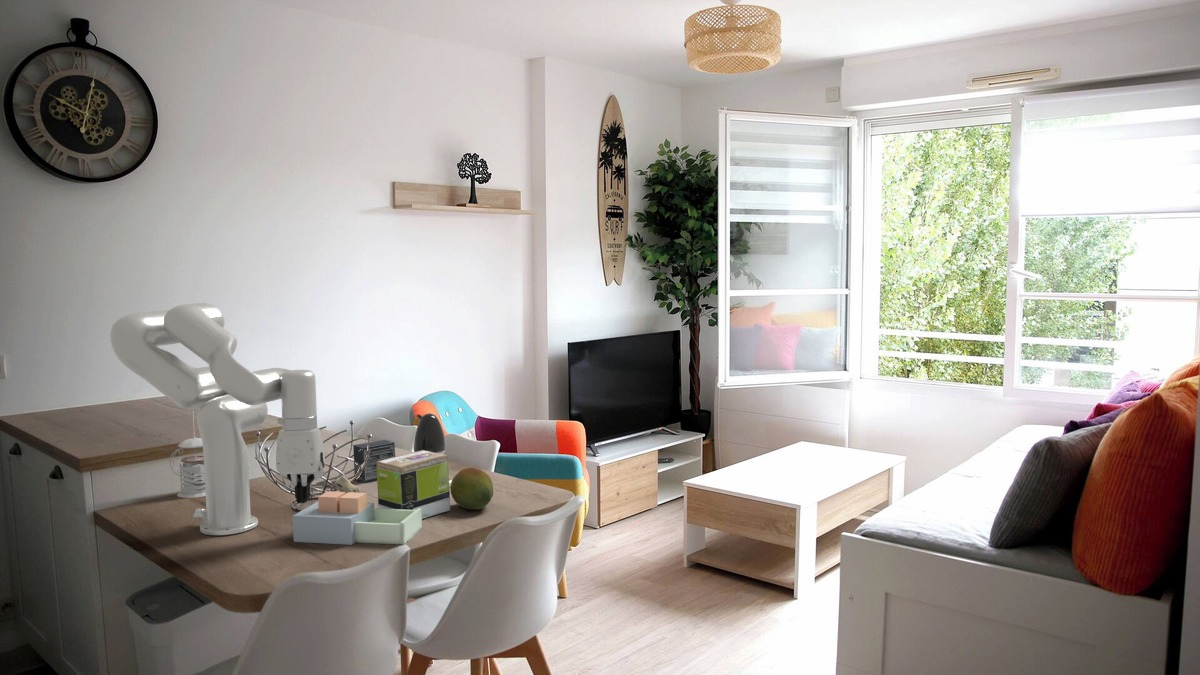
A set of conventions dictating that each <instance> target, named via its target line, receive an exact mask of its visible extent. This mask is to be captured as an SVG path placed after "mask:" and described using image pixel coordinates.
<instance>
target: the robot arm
mask: <svg viewBox="0 0 1200 675" xmlns="http://www.w3.org/2000/svg"><path fill="white" fill-rule="evenodd" d="M224 327H225V317H224V315H223V313H222V312H221V310H220V309H219V308H218V307H217V306H215V305H213V304H211V303H205V302H203V303H201V302H200V303H187V304H186V303H185V304H179V305H176V306H174V307H172V308H170V309H169V310H168V309H167V310H157V311H144V312H143V311H140V312H134V313H129V314H126V315H124V316H121V317H119V318H118V319H117V320H116V321H114V323H113V324H112V327H111V329H110V343H111V347H112V349H113V352H114V354H115V356H116V357H117V359H118V360H119V361H120V363H122V364H123V365H124V367H126V368H127V369H129V370H130V371H131V372H133V373H134V374H136V375H137V376H139V377H140V378H142V379H143V380H145V381H146V382H148V384H150V385H151V386H153V387H154V388H155V389H156V390H157V391H159V392H160V393H161V394H163V395H164V396H165V397H166V398H168V399H169V400H171V401H172V402H173V403H174V404H175V405H177V406H178V407H180V408H182V409H184V410H197V409H199V410H198V413H197V417H196V418H197V419H196V420H197V427H198V431H199V435H200V438H201V439H202V445H203V447H202V450H203V454H202V455H204V465H203V466H204V469H205V479H204V480H205V490H206V496H205V505H206V508H198V507H197V508H196V509H195V510H194V513H193V515H192V518H193V519H195V520H202V523H201V524H200V525H199V531H200V533H201V534H204V535H207V536H229V535H230V536H231V535H236V534H239V533H243V532H248V531H250V530H252V529H254V528H256V527H257V526H258V524H259V520H258V519H259V518H257V517H256V516H254V515H252V514H251V497H250V496H251V494H250V472H249V470H250V467H249V453H248V447H247V444H246V442H245V440H244V438H243V435H242V433H243V432H247V431H249V430H252V429H255V428H257V427H259V426H260V425H262V424H263V423H264V422H265V421H266V419H267V417H268V413H269V412H268V404H267V403H269V402H273V401H278V400H281V401H280V402H281V418H277V424H279V425H281V428H282V429H279V431H278V436H277V442H276V452H275V453H276V454H275V455H276V456H275V466H276V471H277V472H278V475H279V476H280V477H283V478H287V479H288V480H289V481H290V482H291V485H292V486H293V487H294V497H295V502H296V504H304V503H307V502H308V501H310V498H311V484H312V483H313V482H314V480H315V479H320V478H322V477H325V474H326V473H325V465H326V459H325V458H326V455H325V446H324V440H323V437H322V432H321V430H320V427H318V418H317V417H318V414H317V409H318V408H317V389H316V388H317V385H316V383H317V382H316V374H315V373H314V372H313V371H312V370H309V369H287V368H282V367H271V368H266V369H260V370H256V371H254V370H253V371H251V370H250V369H248V368H246V366H244V365H243V364H241V363H240V362H239V361H238V360H236V359H235V357H234V356H233V355H234V353H235V351H236V349H237V345H238V340H237V338H236V336H235V335H233V334H232V333H230V332H229V331H228V330H227V329H225V328H224ZM174 344H181V345H182V346H184V347H185V348H187V350H189V351H191V352H192V353H193V354H195V355H196V356H197V357H198V358H200V359H201V360H203V362H205V363H206V364H207V365H208V366H202V367H193V366H191V365H189V364H188V363H186V362H185V361H183V360H182V359H180V358H179V357H178V356H177V355H175V354H174V353H172V352H169V351H168V350H165V349H163V348H160V346H168V345H174Z"/></svg>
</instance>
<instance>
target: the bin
mask: <svg viewBox="0 0 1200 675" xmlns="http://www.w3.org/2000/svg"><path fill="white" fill-rule="evenodd" d="M374 515H375V519H374V520H372V521H371V522H355V543H365V544H381V545H382V544H384V545H385V544H386V545H399V544H404V545H406V543H408V542H409V541H410V540H411V539H413V537H415V536H416V535H417V534H418V533H420V532H421V530H422V529H423V519H422V508H418V509H417V510H403V509H381V508H379V507H378V508H375V507H374ZM407 541H408V542H407Z"/></svg>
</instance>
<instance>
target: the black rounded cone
mask: <svg viewBox="0 0 1200 675" xmlns="http://www.w3.org/2000/svg"><path fill="white" fill-rule="evenodd" d="M416 418H418V423H417V426H416V430H415V433H414V438H413V447H412V450H413V452H418V451H422V450H425V451H429V452H434V453H439V454H445V452H446V449H447V443H446V438H445V437H446V436H445V434H444V429H443V427H442V424H441V422H440V420H439V418H438V417H437V416H436V415H435V414H433V413H424V414H423V415H421V414H417V415H416Z"/></svg>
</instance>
